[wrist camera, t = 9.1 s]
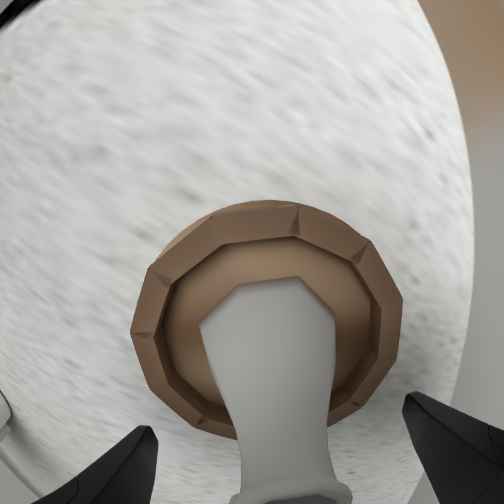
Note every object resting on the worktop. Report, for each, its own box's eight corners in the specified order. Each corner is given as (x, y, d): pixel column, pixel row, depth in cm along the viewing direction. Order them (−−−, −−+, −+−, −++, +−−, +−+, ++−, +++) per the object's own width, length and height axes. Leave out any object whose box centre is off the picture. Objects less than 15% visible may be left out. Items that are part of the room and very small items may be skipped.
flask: (353, 360, 15) (428, 500, 5) (240, 407, 16) (237, 556, 6) (306, 249, 14) (416, 376, 4) (175, 312, 14) (91, 471, 4)
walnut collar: (377, 400, 17) (388, 420, 14) (177, 424, 17) (170, 447, 15) (386, 189, 14) (407, 189, 11) (119, 221, 14) (99, 227, 12)
